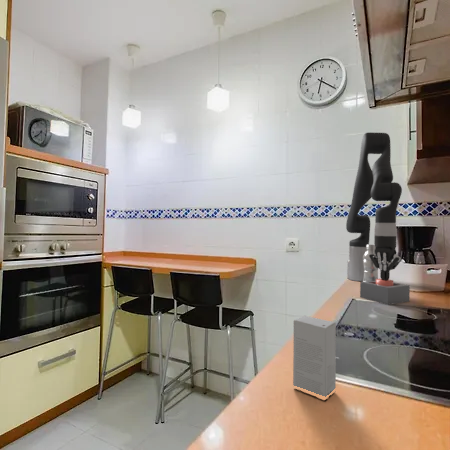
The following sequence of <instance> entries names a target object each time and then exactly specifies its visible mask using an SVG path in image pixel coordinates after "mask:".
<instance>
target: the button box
mask: <svg viewBox="0 0 450 450" xmlns="http://www.w3.org/2000/svg"><path fill="white" fill-rule="evenodd" d="M359 282H360V286H359V288H360V289H359V292H360V293H359V294H360V295H359V297H360V298H362V299H365V300H368V301H372V302H376V303H380V304H382V305H383V304H385V305H386V306H387V305H388V306H389V305H395V304H401V303H407V302H410V293H411V292H410V290H411V285H410V284H404V283H400V282H394V281H393V286H382V285H378V284H376V281H366V282H363V281H359Z"/></svg>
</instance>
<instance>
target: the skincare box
mask: <svg viewBox="0 0 450 450" xmlns="http://www.w3.org/2000/svg"><path fill="white" fill-rule="evenodd" d="M336 326H337V323H336V321H331V320H326V319H321V318H316V317H314V316H313V317H312V316H307V315H303V316H301V317H299V318H296V319H294V320H293V357H292V358H293V364H292V365H293V368H292V371H293V374H292V375H293V376H292V378H293V380H292V386H293V385H294V386H297V387H300V388H303V389H306V390H308V391H311V392H314V393H316V394H319V395H322V396H325V397H326V396H327V395H329V394H330V393H331V392H332V391H333V390H334V389H335V388H336V386H337V385H336V381H337V380H336V376H337V375H336V367H337V366H336V362H337V361H336V359H337V358H336V357H337V356H336V355H337V353H336V352H337V350H336V347H337V346H336V344H337V340H336V339H337V337H336V335H337V334H336V333H337V332H336V329H337V327H336Z"/></svg>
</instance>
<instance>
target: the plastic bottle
mask: <svg viewBox="0 0 450 450" xmlns="http://www.w3.org/2000/svg"><path fill="white" fill-rule="evenodd" d="M366 249H367V251H366V252H365V254H364V255H363V263H364V278H363V281H362V282H366V281H376V279H379V276H378V274H379V268H376V267H375V265H374V263H373V262H372V260H371V258H370V257H369V255H370V254H373V253H374V250H375V246H374V244H369V245H366Z"/></svg>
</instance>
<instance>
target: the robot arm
mask: <svg viewBox="0 0 450 450" xmlns="http://www.w3.org/2000/svg"><path fill="white" fill-rule="evenodd" d="M391 149H392V148H391V137H390V135H389V133H387V132H365V133H364V134H363V136H362V139H361V145H360V153H359V154H360V155H359V161H358V167H357V172H356V177H355V181H354V187H353V191H352V192H353V193H352V199H351V204H350V208H349V211H348V215H347V219H346V223H345V224H346V225H345V228H346V231H347V233H349V234H360V235H359V236H358V237H356V238H355V239H350V240H349V242H348V244H349V245H348V246H349V248H348V249H349V251H348V259H349V260H347V276H346V277H347V279H348V280H350V281H356V282H363V278H364V263H363V255H364V254H365V252H366V251H367V249H366V245H370V235H371V219H370V217H369V216H368V215H362V214H359V213H360V210H361V209H362V208H363V207H364V206H365V205H366V204H367V203H368V202H369V201H370V200H371V199H372V201H376V202H389V203H388V205H386V206H381V207H378V208H376V209H375V215H374V216H375V220H374V221H375V224H374V240H373V243H374V244H373V245H374V246H375V250H374V253H373V254H370V255H369V257H370V258H371V260H372V262H373V263H374V265H375V267H376V268H378V270H380V271H379V272H380V273H379V274H380V279H381V280H385V281H386V280H388V279H390V278H391V277H390V271H391V270H395V269H396V268H397V267H398V265H399V264H400V262H401V261H403V257H402V256H399V255H398V253H397V250H396V249H397V232H398V231H397V229H398V228H397V209H398V204H399V202H400V199H401V197H402V196H401V195H402V194H403V193H402V191H403V189H402V186H401V184H400V183H399V182H393V180H394V173H393V170H392V165H391V155H392V154H391ZM369 155H380V156H379V157H378V158H377V159H376V160H375V161H374V163H373V166H372V167H371V165H370V163H369Z"/></svg>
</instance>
